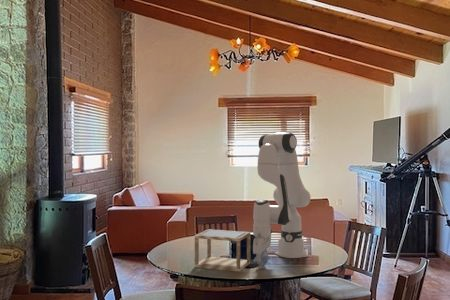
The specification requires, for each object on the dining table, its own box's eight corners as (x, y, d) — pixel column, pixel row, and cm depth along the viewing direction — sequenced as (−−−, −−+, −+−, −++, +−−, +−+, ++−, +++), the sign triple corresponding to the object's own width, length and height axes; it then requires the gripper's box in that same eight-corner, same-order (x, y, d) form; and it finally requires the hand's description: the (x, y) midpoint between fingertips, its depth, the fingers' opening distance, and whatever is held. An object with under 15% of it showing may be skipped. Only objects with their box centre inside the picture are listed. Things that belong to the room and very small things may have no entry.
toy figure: (257, 271, 231) (257, 247, 231) (249, 268, 236) (249, 245, 236) (273, 268, 237) (273, 244, 237) (266, 265, 242) (266, 242, 242)
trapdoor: (245, 238, 246) (245, 232, 246) (236, 244, 233) (236, 237, 233) (210, 236, 253) (210, 230, 253) (199, 241, 240) (199, 234, 240)
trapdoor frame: (250, 263, 247) (250, 232, 247) (239, 271, 230) (239, 238, 230) (208, 259, 256) (208, 229, 255) (194, 267, 239) (194, 235, 239)
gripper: (262, 236, 225) (262, 264, 225) (273, 229, 244) (273, 255, 245) (249, 235, 227) (249, 263, 228) (261, 228, 247) (261, 254, 247)
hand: (261, 259), depth 236 cm, fingers closed on toy figure, 7 cm apart
